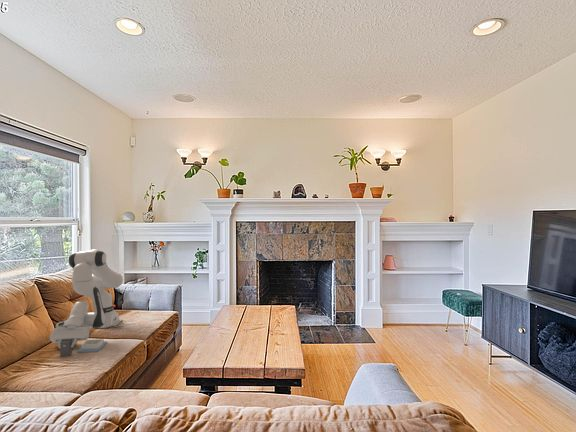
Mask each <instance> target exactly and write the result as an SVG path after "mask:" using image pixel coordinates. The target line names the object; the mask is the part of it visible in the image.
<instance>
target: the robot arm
mask: <svg viewBox="0 0 576 432" xmlns="http://www.w3.org/2000/svg"><path fill="white" fill-rule="evenodd" d="M68 265H69V266H70V267H71V268H72V269H73V271H72V280H71V282H72V284H71V285H72V289H73V291H74V292H75V293H76V294H78V295H80V296H84V297H87V298H89V299H90V300H91V301H92V305H93V309H94V311H92V312H88V311H89V307H90V306H89V305H90V303H89V302H87V301H85V300H79V301H75V303H74V305H73V306H72V308H71V310H70V313H69V317H68V318H67V320H64V321H61V322H57V323H56V325H55V327H54V328H53V330H52V331H51V333H50V335H49V340H50V341H51V343H57V342H58V343H59V346H58V345H57V346H58V349H60V342H62V341H63V340H72V341H74V342H73V343H72V344H70V348H72V349H73V348H74V346H75V345H77V343H78V341H87V340H89V337H90V333H91V330H92V329H105V328H110V327H115V326H117V325H118V324H120V323H121V322H122V321H123V319H122V318H120V314H119V313H118V312H117V311H115V310H114V308H116V304H113V295H112V294H111V293H110V292H108V291H107V290H106V289H114V288H119V287H120V286H122V284H123V280H124V279H123V275H122V274H121V273H118V272H115V271H114V270H112V269H111V268H110V266H108V263H107V253H106V252H104V251H102V250H99V249H94V248H93V249H91V250H86V251H83V250H82V251H75V252H72V253H70V255H69V256H68Z"/></svg>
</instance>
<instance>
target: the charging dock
mask: <svg viewBox="0 0 576 432" xmlns="http://www.w3.org/2000/svg"><path fill="white" fill-rule="evenodd" d="M107 344H108V341H105V339H104V338H101V339H87V340H84V342H82V344H81V345H80V347H79V349H77V350H76V354H79V353H95V352H100V351H101V349H103V348H104V347H106V345H107Z"/></svg>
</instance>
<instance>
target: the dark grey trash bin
mask: <svg viewBox="0 0 576 432" xmlns="http://www.w3.org/2000/svg"><path fill="white" fill-rule="evenodd" d="M70 344H72V340H63V341H62V342H60V348H59V350H60V351H59V352H60V353H59V357H70V356H71V355H72V354H73V348H70Z"/></svg>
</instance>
